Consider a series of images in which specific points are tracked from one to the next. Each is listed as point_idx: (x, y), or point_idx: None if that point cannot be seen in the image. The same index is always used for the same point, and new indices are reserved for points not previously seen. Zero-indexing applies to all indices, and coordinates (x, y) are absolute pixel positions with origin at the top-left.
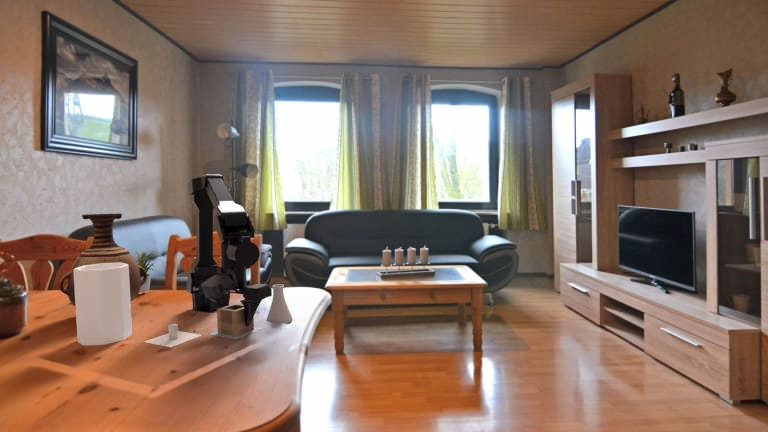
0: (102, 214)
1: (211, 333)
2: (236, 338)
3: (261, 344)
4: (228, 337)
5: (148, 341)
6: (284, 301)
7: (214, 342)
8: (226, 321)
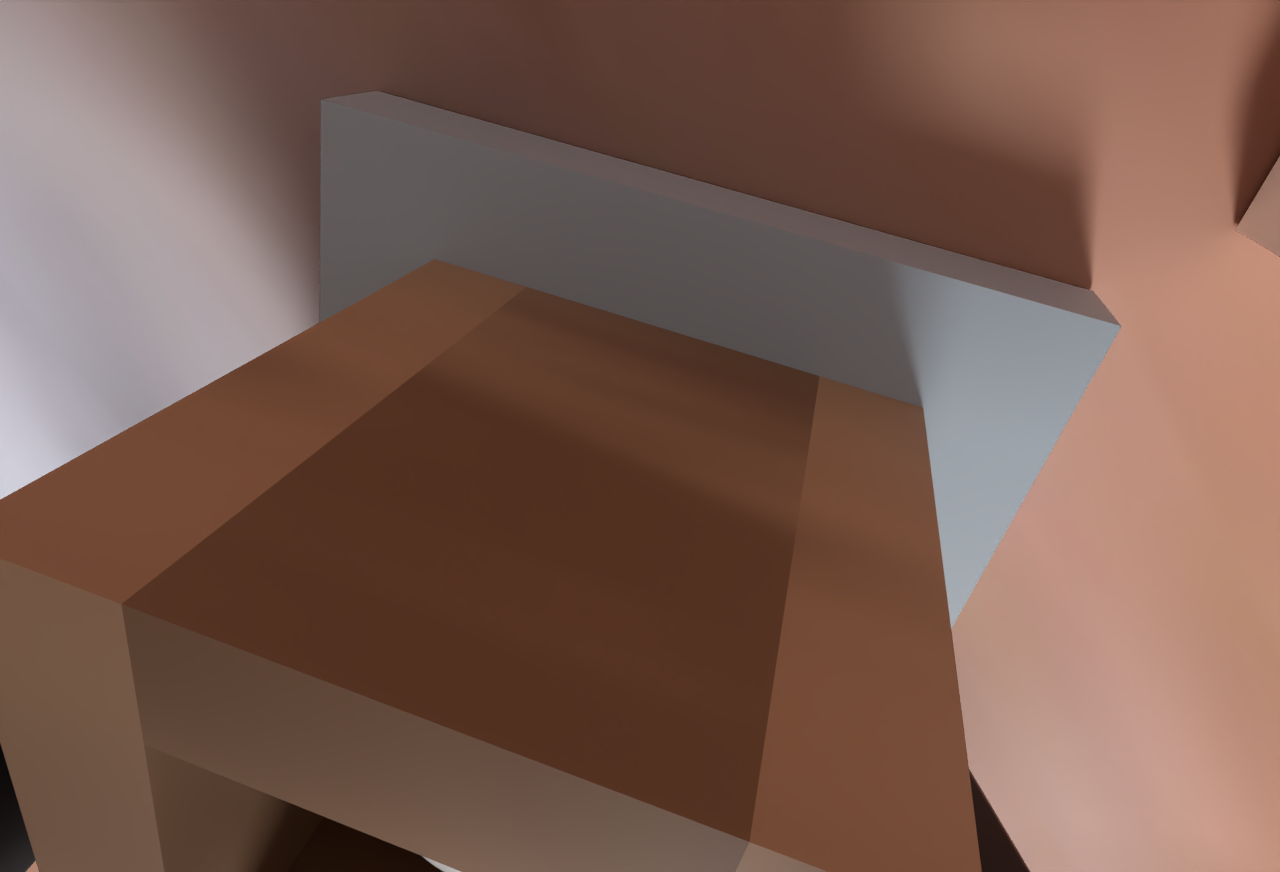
0: None
1: (1073, 387)
2: (358, 140)
3: (46, 154)
4: (544, 175)
5: None
6: None
7: (871, 121)
8: (585, 468)
